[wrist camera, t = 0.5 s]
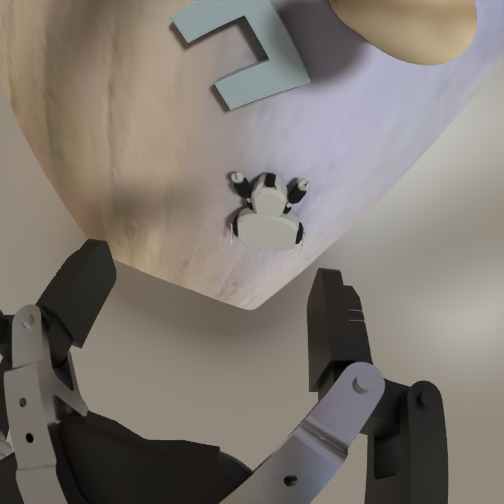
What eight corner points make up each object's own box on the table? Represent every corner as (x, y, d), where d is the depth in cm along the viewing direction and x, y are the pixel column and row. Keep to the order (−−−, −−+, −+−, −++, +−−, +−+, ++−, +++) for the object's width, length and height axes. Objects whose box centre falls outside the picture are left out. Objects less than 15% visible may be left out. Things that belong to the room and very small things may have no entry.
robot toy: (231, 160, 39) (235, 230, 51) (224, 176, 36) (230, 249, 48) (314, 169, 38) (302, 239, 49) (315, 187, 35) (300, 258, 46)
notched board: (177, 15, 21) (170, 17, 20) (256, -24, 16) (253, -25, 15) (234, 103, 30) (230, 110, 29) (310, 78, 26) (310, 82, 25)
